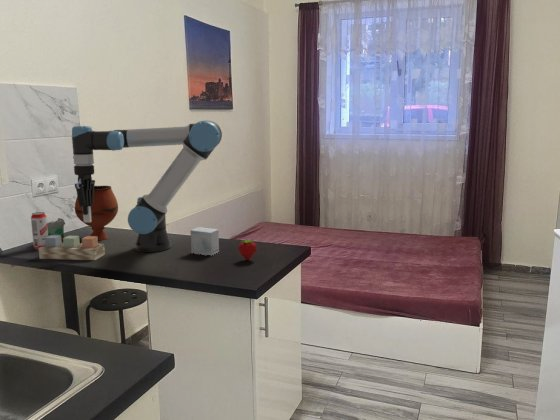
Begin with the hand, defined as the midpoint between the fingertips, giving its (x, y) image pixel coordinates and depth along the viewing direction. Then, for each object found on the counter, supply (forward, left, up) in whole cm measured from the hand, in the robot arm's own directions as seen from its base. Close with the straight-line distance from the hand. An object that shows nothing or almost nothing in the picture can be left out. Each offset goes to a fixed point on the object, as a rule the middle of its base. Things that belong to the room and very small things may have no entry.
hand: (87, 221), depth 206 cm
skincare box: (-46, -11, -15) cm, 50 cm away
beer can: (+28, -11, -15) cm, 33 cm away
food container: (+27, -23, -15) cm, 38 cm away
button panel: (+8, 0, -15) cm, 17 cm away
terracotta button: (0, 0, -11) cm, 11 cm away
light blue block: (+16, 0, -11) cm, 19 cm away
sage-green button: (+8, 0, -11) cm, 13 cm away
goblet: (+11, -31, -15) cm, 36 cm away
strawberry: (-66, -2, -15) cm, 68 cm away
